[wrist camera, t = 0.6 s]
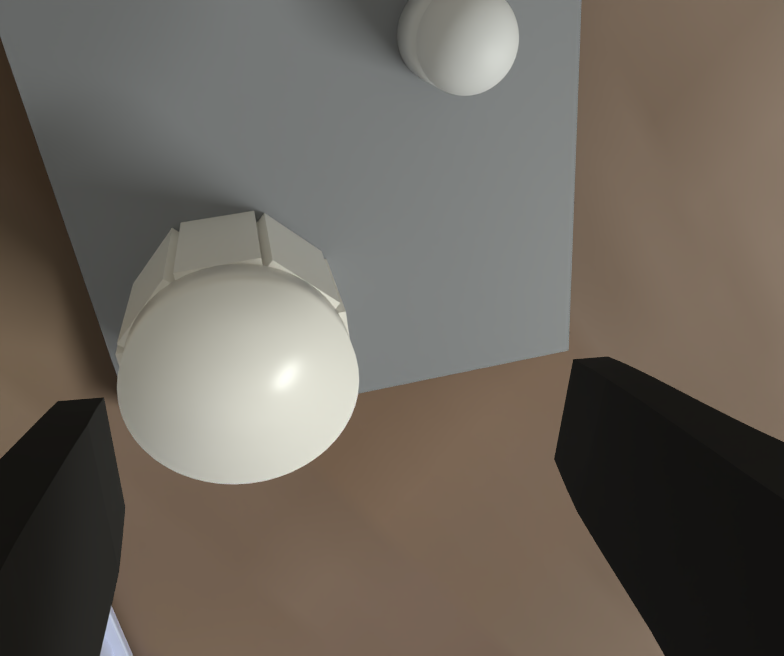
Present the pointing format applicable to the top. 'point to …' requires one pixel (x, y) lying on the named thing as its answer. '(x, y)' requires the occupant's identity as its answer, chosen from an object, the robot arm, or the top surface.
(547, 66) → the board
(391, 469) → the top surface
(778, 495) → the robot arm
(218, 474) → the cap
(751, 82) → the top surface
